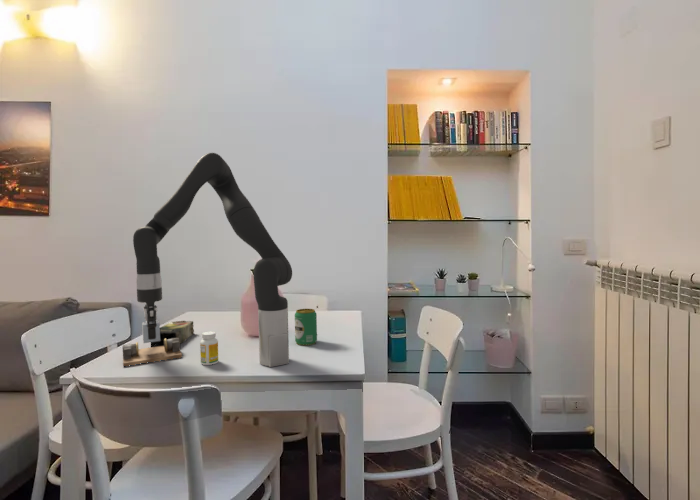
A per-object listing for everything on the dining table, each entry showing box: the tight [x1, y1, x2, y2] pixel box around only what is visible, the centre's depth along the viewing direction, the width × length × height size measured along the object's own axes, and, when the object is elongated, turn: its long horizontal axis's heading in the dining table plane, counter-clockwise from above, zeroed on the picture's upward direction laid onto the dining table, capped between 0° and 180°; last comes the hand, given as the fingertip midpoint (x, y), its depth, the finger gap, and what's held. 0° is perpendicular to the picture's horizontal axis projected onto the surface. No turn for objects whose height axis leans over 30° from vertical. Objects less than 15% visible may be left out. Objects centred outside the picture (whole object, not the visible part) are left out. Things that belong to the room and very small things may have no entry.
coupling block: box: [141, 320, 161, 344], centre depth 137 cm, size 5×5×6 cm
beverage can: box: [294, 308, 318, 346], centre depth 150 cm, size 8×8×12 cm
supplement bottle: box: [199, 331, 219, 366], centre depth 130 cm, size 5×5×10 cm
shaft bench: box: [122, 337, 183, 367], centre depth 137 cm, size 17×14×5 cm
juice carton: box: [150, 320, 195, 347], centre depth 157 cm, size 20×10×6 cm, turn 3°
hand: (151, 336), depth 137 cm, fingers closed on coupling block, 4 cm apart
